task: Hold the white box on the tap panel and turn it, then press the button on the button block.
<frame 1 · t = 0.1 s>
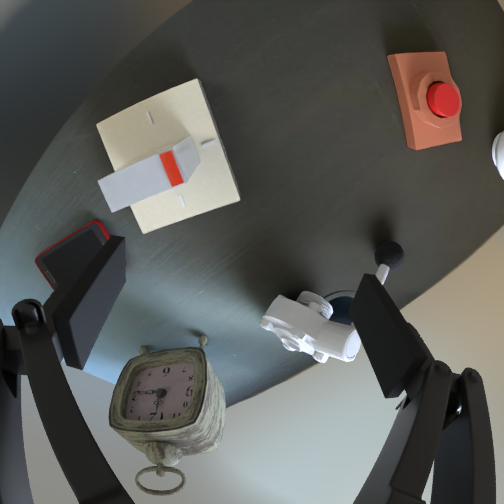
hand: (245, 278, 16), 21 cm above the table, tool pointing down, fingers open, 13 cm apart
button: (443, 99, 26), point 4 cm above the table, slide at 0.1 cm
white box: (154, 169, 26), point 8 cm above the table, hinge at 90.0°
button block: (423, 97, 30), on the table
mechanical valve: (330, 281, 42), on the table
flower vase: (503, 152, 33), on the table
tabletop clock: (180, 352, 47), on the table
tap panel: (171, 155, 33), on the table
cell phone: (78, 259, 38), on the table
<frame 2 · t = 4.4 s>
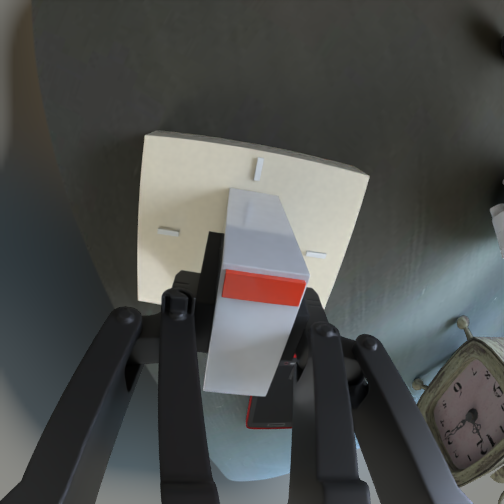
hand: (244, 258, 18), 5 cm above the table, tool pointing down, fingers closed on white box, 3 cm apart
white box: (245, 283, 15), point 8 cm above the table, hinge at 89.8°, touching gripper
tabletop clock: (449, 350, 31), on the table
tap panel: (242, 225, 22), on the table
cell phone: (284, 391, 32), on the table
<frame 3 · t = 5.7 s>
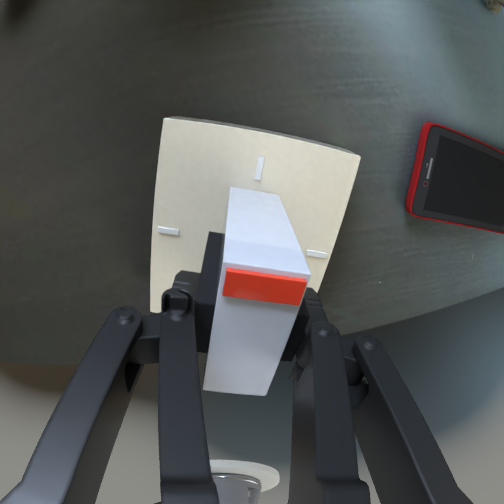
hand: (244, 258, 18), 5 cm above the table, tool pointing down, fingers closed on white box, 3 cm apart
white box: (245, 282, 15), point 8 cm above the table, hinge at -0.1°, touching gripper
tap panel: (243, 223, 22), on the table
cell phone: (471, 182, 21), on the table
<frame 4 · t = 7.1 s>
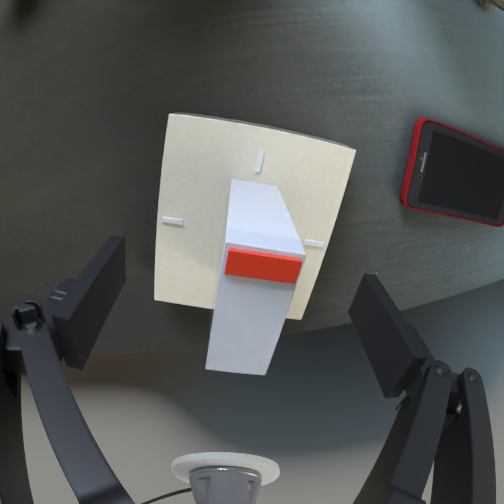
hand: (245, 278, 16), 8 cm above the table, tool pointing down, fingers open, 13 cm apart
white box: (246, 267, 16), point 8 cm above the table, hinge at 0.0°
tap panel: (244, 215, 23), on the table
cell phone: (465, 176, 22), on the table
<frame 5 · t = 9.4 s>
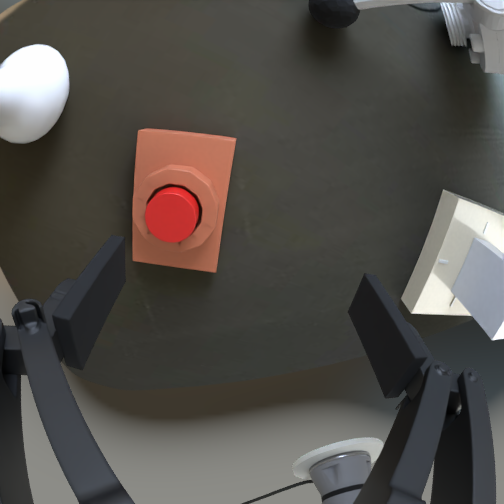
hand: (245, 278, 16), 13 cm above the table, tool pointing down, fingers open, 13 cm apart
button: (172, 214, 23), point 4 cm above the table, slide at 0.1 cm
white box: (492, 287, 24), point 8 cm above the table, hinge at 0.0°
button block: (182, 197, 27), on the table
mechanical valve: (410, 22, 19), on the table
flower vase: (43, 88, 21), on the table
tap panel: (456, 254, 31), on the table
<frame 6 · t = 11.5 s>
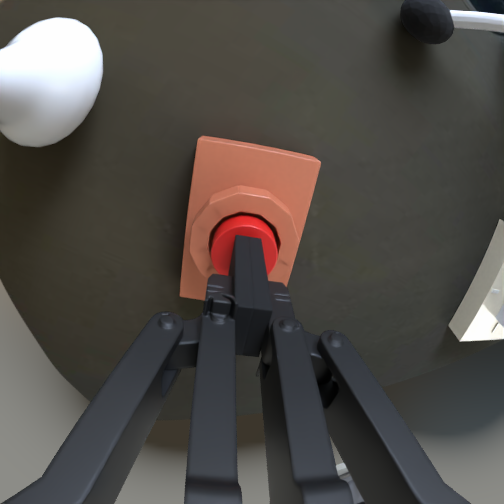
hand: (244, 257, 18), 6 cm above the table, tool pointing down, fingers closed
button: (244, 249, 19), point 4 cm above the table, slide at 0.0 cm, touching gripper
button block: (243, 223, 23), on the table
mechanical valve: (485, 44, 15), on the table
flower vase: (62, 76, 17), on the table
tap panel: (500, 280, 27), on the table
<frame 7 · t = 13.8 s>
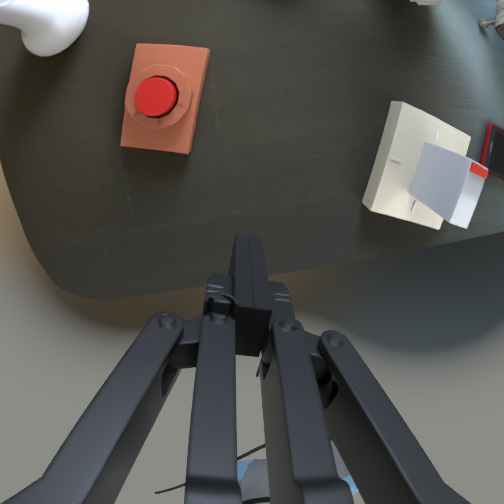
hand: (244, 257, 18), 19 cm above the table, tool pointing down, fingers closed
button: (155, 96, 26), point 4 cm above the table, slide at 0.1 cm
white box: (446, 182, 28), point 8 cm above the table, hinge at 0.0°
button block: (165, 96, 30), on the table
flower vase: (65, 22, 23), on the table
tabletop clock: (501, 30, 23), on the table
tap panel: (414, 165, 35), on the table
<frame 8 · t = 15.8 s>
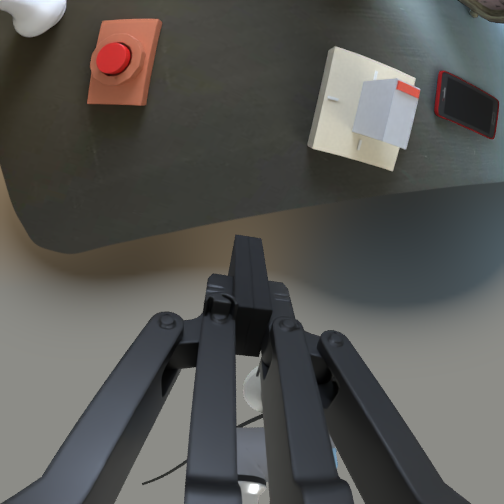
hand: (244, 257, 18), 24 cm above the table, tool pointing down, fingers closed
button: (113, 58, 27), point 4 cm above the table, slide at 0.1 cm
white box: (383, 111, 29), point 8 cm above the table, hinge at 0.0°
button block: (125, 62, 31), on the table
flower vase: (49, 10, 25), on the table
tap panel: (359, 108, 36), on the table
cell phone: (467, 106, 35), on the table
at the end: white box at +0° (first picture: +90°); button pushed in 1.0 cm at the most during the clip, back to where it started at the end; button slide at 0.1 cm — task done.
